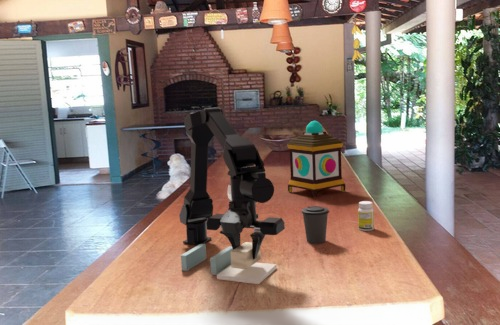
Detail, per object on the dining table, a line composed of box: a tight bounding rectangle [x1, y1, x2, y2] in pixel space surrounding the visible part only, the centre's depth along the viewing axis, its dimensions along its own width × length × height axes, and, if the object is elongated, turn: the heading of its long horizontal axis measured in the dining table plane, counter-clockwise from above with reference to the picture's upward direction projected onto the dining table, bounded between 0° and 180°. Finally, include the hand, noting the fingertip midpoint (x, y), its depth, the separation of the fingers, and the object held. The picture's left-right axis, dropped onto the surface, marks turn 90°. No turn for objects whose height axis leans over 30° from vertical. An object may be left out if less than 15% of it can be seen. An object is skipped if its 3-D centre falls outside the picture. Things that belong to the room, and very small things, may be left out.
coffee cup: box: [300, 205, 330, 245], centre depth 151 cm, size 8×8×10 cm
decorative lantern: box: [286, 120, 346, 199], centre depth 218 cm, size 20×20×30 cm
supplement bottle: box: [357, 200, 375, 232], centre depth 161 cm, size 5×5×8 cm
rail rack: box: [180, 243, 233, 276], centre depth 135 cm, size 10×10×4 cm
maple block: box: [230, 241, 262, 270], centre depth 128 cm, size 8×4×4 cm, turn 153°
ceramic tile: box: [216, 261, 278, 285], centre depth 128 cm, size 11×11×1 cm
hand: (246, 258), depth 128 cm, fingers closed on maple block, 4 cm apart
